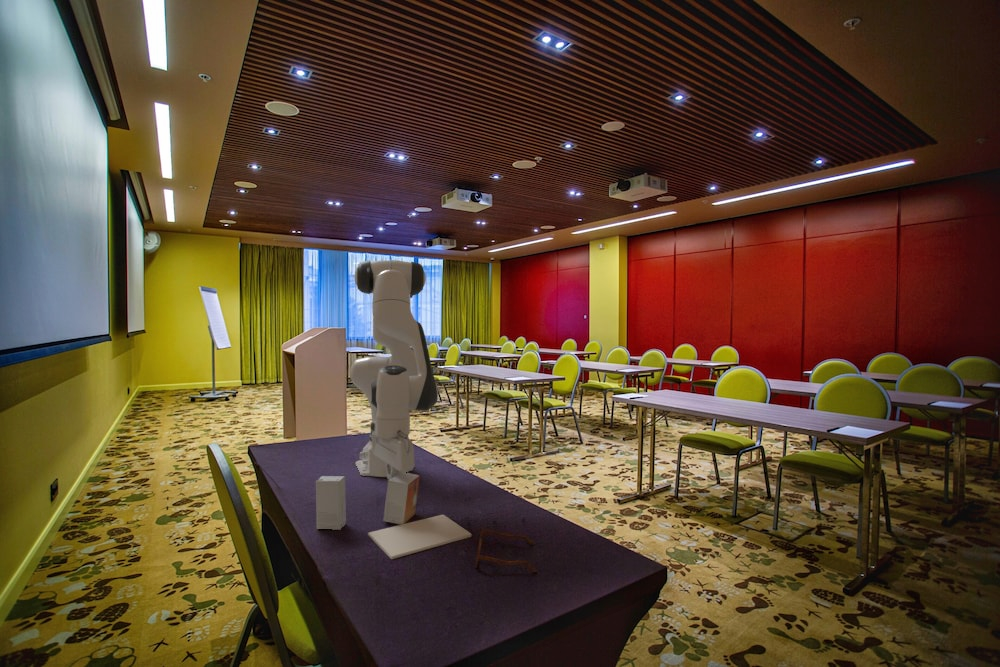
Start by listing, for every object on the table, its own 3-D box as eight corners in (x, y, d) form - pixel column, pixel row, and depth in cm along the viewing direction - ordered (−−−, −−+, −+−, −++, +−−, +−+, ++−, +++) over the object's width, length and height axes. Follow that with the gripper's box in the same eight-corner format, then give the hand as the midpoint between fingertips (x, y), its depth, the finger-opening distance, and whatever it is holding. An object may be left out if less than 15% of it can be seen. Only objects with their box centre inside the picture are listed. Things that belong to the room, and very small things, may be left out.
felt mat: (368, 535, 112) (368, 532, 112) (443, 516, 124) (443, 514, 124) (391, 559, 101) (391, 556, 101) (471, 536, 112) (471, 534, 112)
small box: (403, 526, 118) (408, 484, 117) (382, 521, 119) (387, 480, 118) (415, 513, 125) (420, 474, 125) (396, 509, 127) (400, 470, 126)
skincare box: (346, 523, 119) (346, 475, 119) (340, 531, 114) (340, 481, 114) (321, 523, 119) (322, 474, 119) (314, 530, 114) (315, 480, 114)
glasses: (478, 544, 110) (478, 522, 109) (535, 545, 109) (535, 524, 109) (474, 573, 96) (474, 549, 96) (538, 575, 96) (538, 551, 96)
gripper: (421, 433, 119) (420, 488, 119) (389, 420, 136) (388, 468, 136) (397, 436, 115) (396, 493, 115) (367, 422, 132) (367, 472, 132)
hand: (392, 479), depth 126 cm, fingers closed
